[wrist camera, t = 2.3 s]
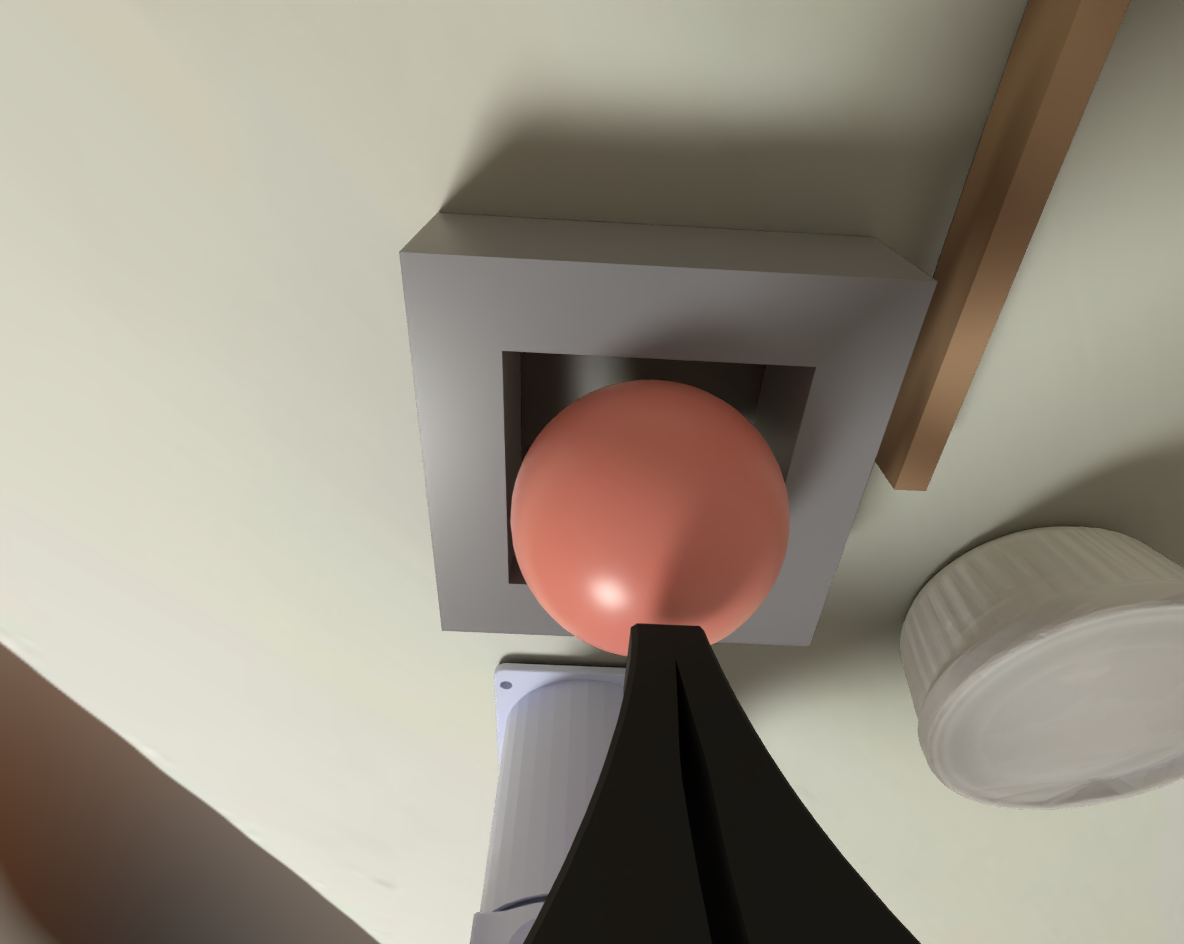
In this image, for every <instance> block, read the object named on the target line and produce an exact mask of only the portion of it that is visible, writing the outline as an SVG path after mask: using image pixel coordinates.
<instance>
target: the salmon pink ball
mask: <svg viewBox="0 0 1184 944" xmlns="http://www.w3.org/2000/svg"><path fill="white" fill-rule="evenodd" d="M510 523H511V532H512V540H513V547H514V551H515V555H516V558H517V562H518V564H519V567H520V570H521V572H522V575H523V577H524V579H525V581H526V583H527V585H528V587H529V588H530V590H531V591H532V593H533V595H534V596H535V598H536V599H537V601H538V602H539V604H540V605H541V606H542V607H543V608H544V609H545V611H546V612H547V613H548V614H549V615H550V616H551V617H552V618H553V619H554V620H555V621H556V622H557V623H558V624H559V625H561V626H562V627H563V628H564V629H565V630H567V631H568V632H570V633H571V634H573V635H574V636H576V637H577V638H579V639H581V640H582V641H584V642H586V643H588V644H590V645H592V646H594V647H596V648H599V649H601V650H604V651H607V652H610V653H614V654H617V655H622V656H627V654H628V646H629V638H630V630H631V627H632V626H634V625H635V624H637V623H643V624H666V625H689V626H700V627H701V628H702V629H703V630H704V631H705V633H706V636H707V638H708V641H709V643H710V645H712V644H714V643H716V642H718V641H720V640H722V639H723V638H725V637H727V636H728V635H730V634H731V633H732V632H734V631H735V630H736V629H737V628H739V627H740V626H741V625H742V624H743V623H745V622H746V621H747V620H748V619H749V618H750V617H751V616H752V615H753V614H754V613H755V612H756V611H757V609H758V608H759V607H760V605H761V604H762V603H763V601H764V600H765V599H766V597H767V596H768V594H769V593H770V591H771V589H772V587H773V586H774V584H775V582H776V580H777V577H778V575H779V572H780V570H781V567H782V564H783V562H784V559H785V556H786V551H787V546H788V540H789V533H790V509H789V500H788V493H787V489H786V485H785V482H784V479H783V476H782V473H781V469H780V466H779V464H778V462H777V460H776V458H775V456H774V454H773V453H772V451H771V449H770V447H769V446H768V444H767V442H766V441H765V439H764V438H763V437H762V435H761V434H760V433H759V431H758V430H757V429H756V428H755V427H754V426H753V425H752V424H751V423H750V422H749V421H748V420H747V419H746V418H745V417H744V416H743V415H742V414H741V413H740V412H739V411H737V410H736V409H735V408H733V407H732V406H731V405H729V404H728V403H727V402H725V401H723V400H721V399H719V398H717V397H716V396H714V395H712V394H710V393H708V392H706V391H704V390H701V389H699V388H696V387H693V386H691V385H687V384H682V383H678V382H674V381H665V380H635V381H627V382H621V383H617V384H613V385H609V386H606V387H603V388H600V389H598V390H595V391H593V392H590V393H588V394H587V395H585V396H583V397H581V398H579V399H577V400H576V401H574V402H573V403H571V404H570V405H569V406H567V407H566V408H564V409H563V410H562V411H561V412H560V413H558V414H557V415H556V416H555V417H554V418H553V419H552V420H551V421H550V422H549V423H548V424H547V425H546V426H545V427H544V428H543V430H542V431H541V432H540V433H539V435H538V436H537V437H536V439H535V440H534V442H533V444H532V445H531V447H530V449H529V450H528V452H527V454H526V455H525V457H524V459H523V462H522V464H521V467H520V469H519V472H518V475H517V478H516V481H515V486H514V490H513V495H512V504H511V520H510Z"/></svg>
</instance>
